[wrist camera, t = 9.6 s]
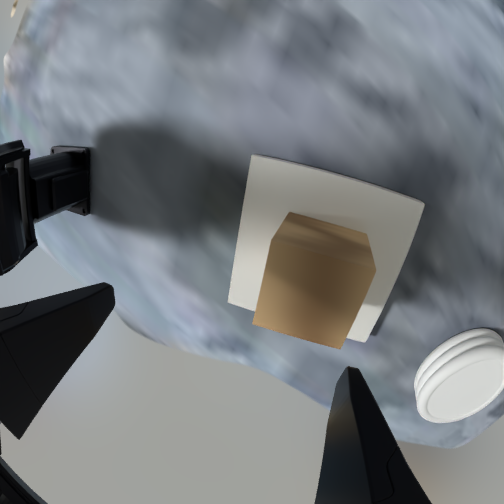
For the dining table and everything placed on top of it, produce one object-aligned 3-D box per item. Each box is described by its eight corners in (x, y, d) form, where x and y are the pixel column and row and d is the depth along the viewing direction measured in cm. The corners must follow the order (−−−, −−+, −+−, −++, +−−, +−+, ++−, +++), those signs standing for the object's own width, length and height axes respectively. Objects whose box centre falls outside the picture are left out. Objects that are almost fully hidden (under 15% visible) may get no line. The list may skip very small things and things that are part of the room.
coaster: (405, 351, 20) (410, 381, 17) (503, 308, 15) (519, 332, 12) (419, 409, 22) (421, 435, 19) (498, 376, 18) (507, 399, 14)
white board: (232, 295, 22) (227, 302, 21) (256, 154, 17) (251, 155, 16) (364, 334, 20) (365, 342, 19) (420, 200, 15) (424, 204, 14)
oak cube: (273, 280, 19) (252, 324, 15) (289, 211, 17) (271, 240, 13) (342, 300, 18) (340, 349, 14) (366, 233, 16) (376, 270, 12)
